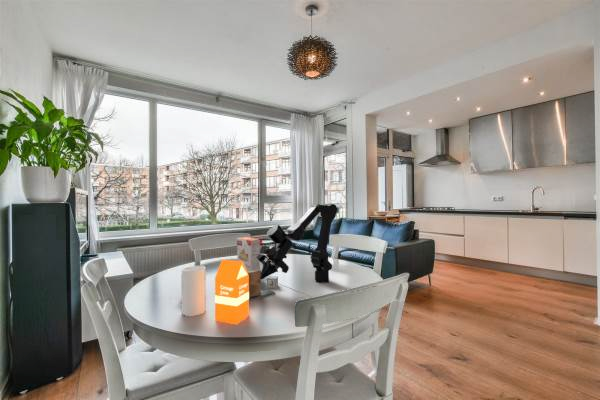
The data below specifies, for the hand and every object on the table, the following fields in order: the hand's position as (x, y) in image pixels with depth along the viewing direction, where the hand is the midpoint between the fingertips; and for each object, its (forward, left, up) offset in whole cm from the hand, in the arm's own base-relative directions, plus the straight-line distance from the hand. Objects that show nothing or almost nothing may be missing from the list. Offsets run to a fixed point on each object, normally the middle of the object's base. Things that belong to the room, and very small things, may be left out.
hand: (260, 278), depth 121 cm
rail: (+3, +3, -7) cm, 9 cm away
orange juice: (+4, +23, -8) cm, 25 cm away
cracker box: (+13, -27, -8) cm, 31 cm away
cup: (+20, +19, -7) cm, 29 cm away
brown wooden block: (+4, +4, -6) cm, 9 cm away
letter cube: (-2, -14, -7) cm, 16 cm away
